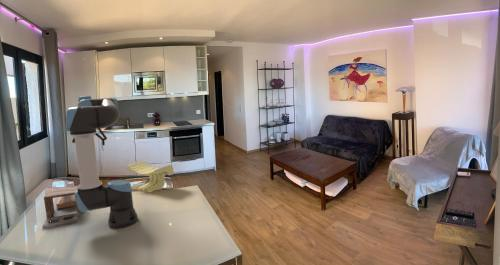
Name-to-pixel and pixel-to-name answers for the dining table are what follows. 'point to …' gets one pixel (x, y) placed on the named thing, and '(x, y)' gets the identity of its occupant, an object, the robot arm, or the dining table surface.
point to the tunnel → (50, 207)
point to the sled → (66, 204)
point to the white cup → (68, 198)
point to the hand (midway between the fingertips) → (91, 151)
